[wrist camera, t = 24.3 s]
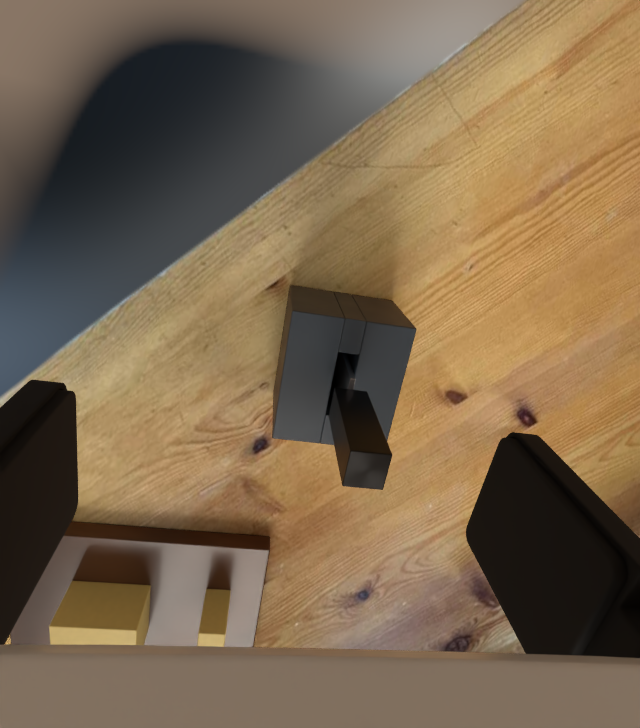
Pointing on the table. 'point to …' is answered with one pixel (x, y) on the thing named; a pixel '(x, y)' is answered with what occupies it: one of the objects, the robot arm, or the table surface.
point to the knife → (356, 432)
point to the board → (155, 579)
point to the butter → (102, 615)
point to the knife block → (319, 354)
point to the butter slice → (214, 618)
